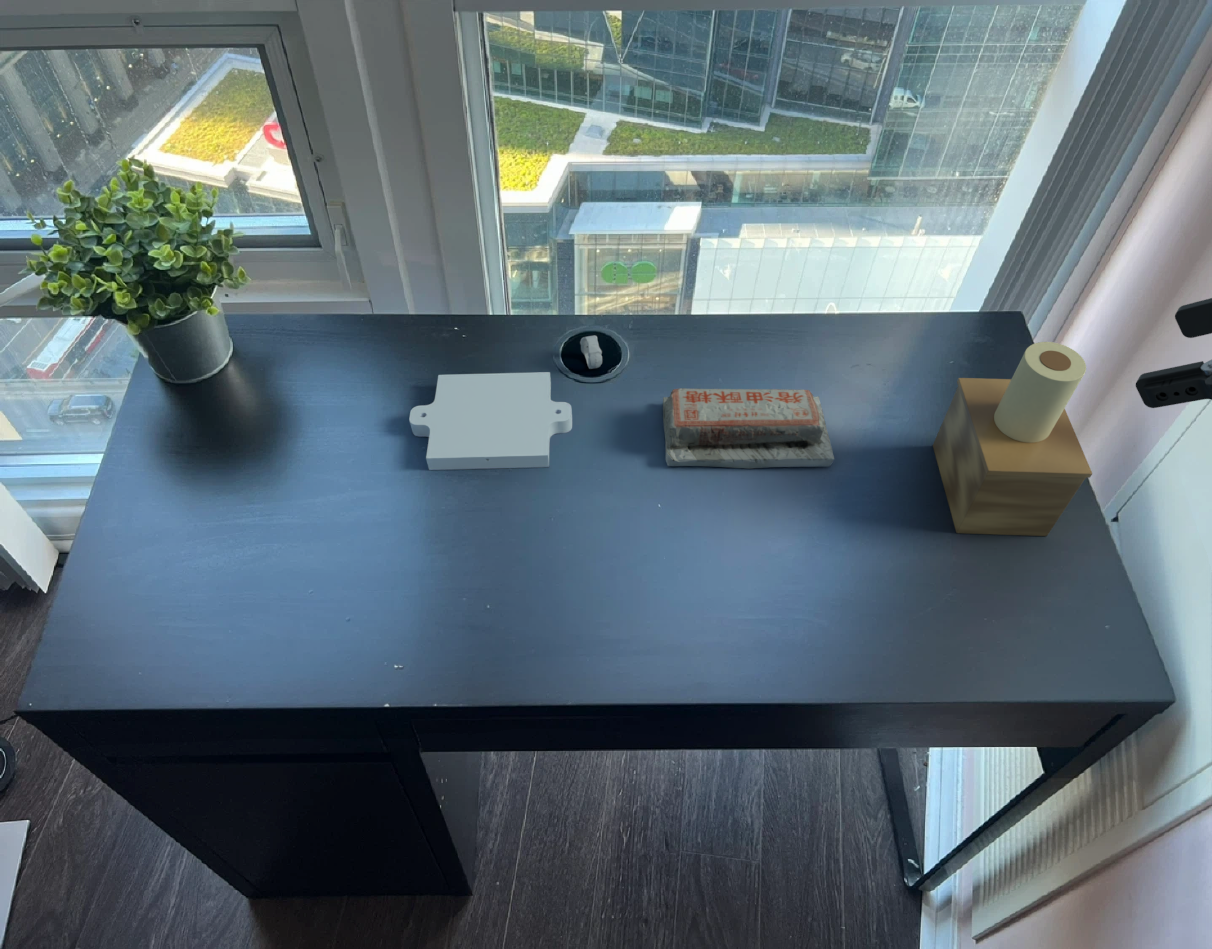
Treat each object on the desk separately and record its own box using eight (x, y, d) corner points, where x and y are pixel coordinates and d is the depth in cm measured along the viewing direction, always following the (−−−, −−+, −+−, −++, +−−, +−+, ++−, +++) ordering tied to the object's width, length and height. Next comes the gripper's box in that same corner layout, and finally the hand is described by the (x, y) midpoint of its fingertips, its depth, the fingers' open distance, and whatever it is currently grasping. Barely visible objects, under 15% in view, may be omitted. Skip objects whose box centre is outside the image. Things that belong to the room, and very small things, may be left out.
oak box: (1049, 538, 84) (1093, 473, 77) (954, 535, 85) (988, 470, 77) (1016, 446, 92) (1052, 380, 85) (930, 444, 93) (958, 377, 85)
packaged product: (667, 439, 87) (663, 373, 93) (665, 469, 91) (661, 404, 97) (842, 438, 87) (826, 372, 93) (832, 469, 90) (818, 403, 97)
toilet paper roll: (1042, 450, 79) (1079, 388, 72) (987, 429, 80) (1017, 366, 74) (1056, 416, 81) (1092, 353, 75) (1002, 396, 83) (1033, 333, 77)
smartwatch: (604, 373, 100) (604, 347, 97) (587, 376, 100) (586, 350, 97) (597, 354, 103) (596, 328, 100) (580, 357, 102) (579, 331, 99)
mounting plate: (405, 470, 91) (402, 458, 89) (419, 387, 99) (416, 375, 98) (572, 466, 91) (571, 454, 90) (572, 383, 99) (571, 371, 98)
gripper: (1508, 152, 44) (1170, 257, 58) (1481, 283, 37) (1102, 367, 51) (1548, 274, 46) (1211, 347, 60) (1529, 420, 39) (1151, 466, 52)
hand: (1161, 356), depth 55 cm, fingers open, 8 cm apart
